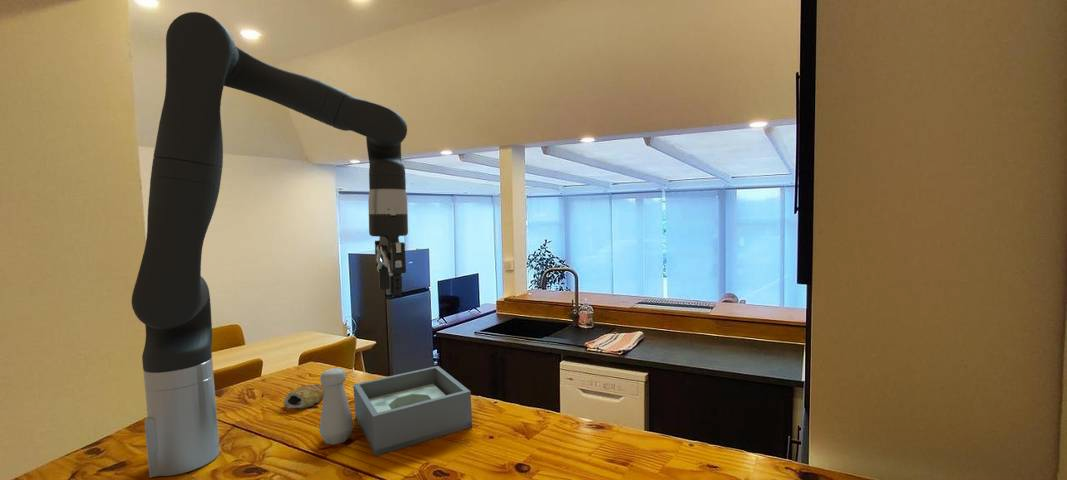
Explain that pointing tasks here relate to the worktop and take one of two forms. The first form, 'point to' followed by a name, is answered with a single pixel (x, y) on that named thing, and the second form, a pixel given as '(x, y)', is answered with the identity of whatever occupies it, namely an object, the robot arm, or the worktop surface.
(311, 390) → the ridged seashell
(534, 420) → the worktop surface
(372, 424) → the bore box
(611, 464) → the worktop surface
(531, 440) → the worktop surface
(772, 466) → the worktop surface
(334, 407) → the salt shaker
